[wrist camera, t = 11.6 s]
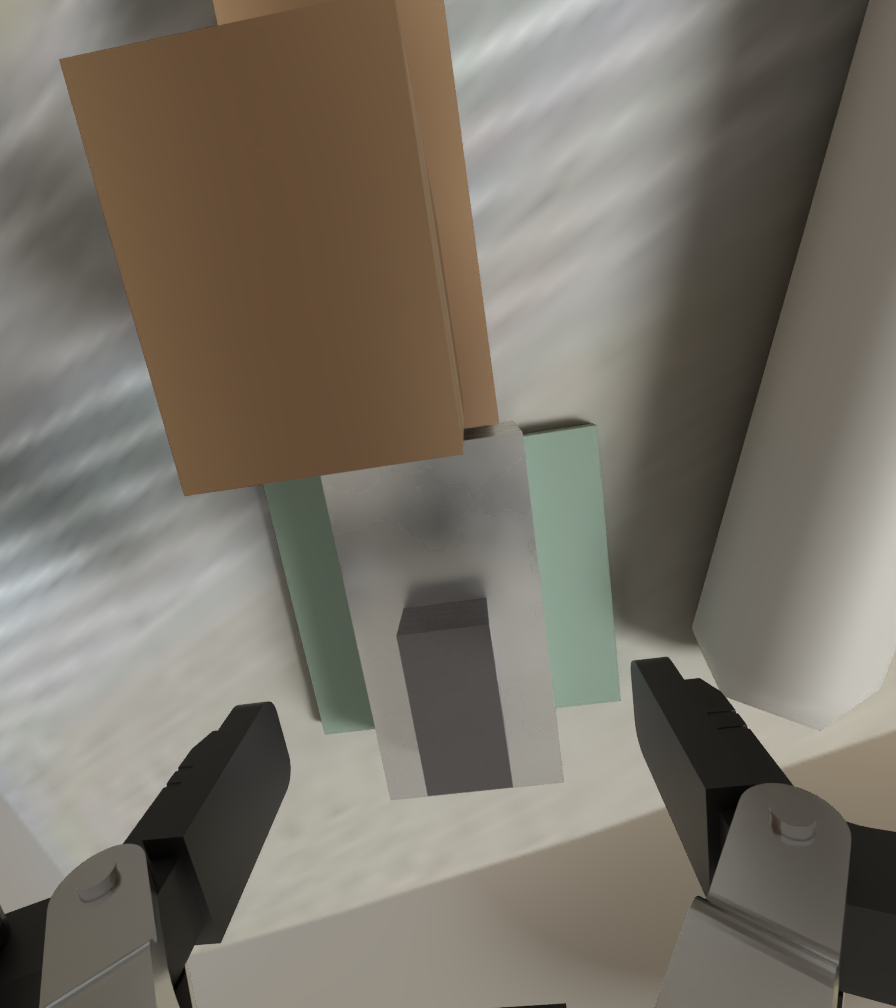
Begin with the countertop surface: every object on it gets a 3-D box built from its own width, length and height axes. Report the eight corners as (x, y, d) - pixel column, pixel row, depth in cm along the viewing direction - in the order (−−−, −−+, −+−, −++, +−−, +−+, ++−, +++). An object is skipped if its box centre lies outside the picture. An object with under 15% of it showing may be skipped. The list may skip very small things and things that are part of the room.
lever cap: (512, 420, 17) (529, 439, 12) (548, 719, 19) (574, 825, 15) (342, 446, 17) (298, 474, 12) (401, 736, 20) (383, 844, 15)
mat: (592, 423, 17) (596, 425, 16) (616, 690, 19) (620, 700, 19) (267, 472, 18) (260, 476, 17) (328, 724, 20) (324, 734, 20)
